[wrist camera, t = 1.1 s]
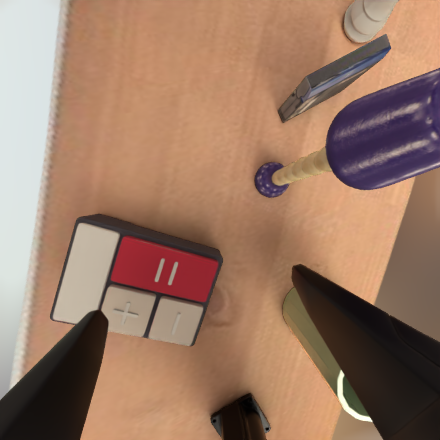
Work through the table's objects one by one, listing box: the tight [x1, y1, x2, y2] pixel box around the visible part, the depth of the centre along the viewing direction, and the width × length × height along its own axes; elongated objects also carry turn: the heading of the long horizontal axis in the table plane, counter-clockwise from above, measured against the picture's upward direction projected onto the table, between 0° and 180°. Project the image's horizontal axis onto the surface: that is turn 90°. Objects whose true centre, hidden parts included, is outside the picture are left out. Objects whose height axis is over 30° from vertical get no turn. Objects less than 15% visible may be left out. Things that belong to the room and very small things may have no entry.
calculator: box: [50, 214, 223, 346], centre depth 20 cm, size 11×4×15 cm
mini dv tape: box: [278, 34, 391, 123], centre depth 19 cm, size 8×2×6 cm, turn 118°
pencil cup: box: [283, 287, 372, 422], centre depth 20 cm, size 8×8×10 cm
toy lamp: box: [255, 68, 440, 198], centre depth 14 cm, size 5×5×17 cm
